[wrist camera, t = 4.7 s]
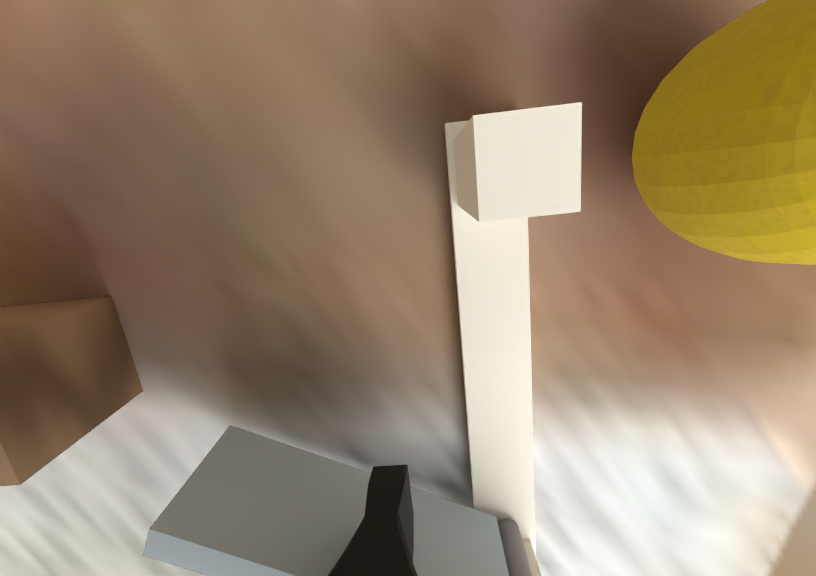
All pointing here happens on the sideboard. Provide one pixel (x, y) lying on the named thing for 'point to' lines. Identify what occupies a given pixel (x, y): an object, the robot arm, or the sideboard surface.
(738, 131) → the lemon
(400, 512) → the robot arm
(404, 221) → the sideboard surface
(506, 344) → the white bracket
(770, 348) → the sideboard surface
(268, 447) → the door
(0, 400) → the brown block
